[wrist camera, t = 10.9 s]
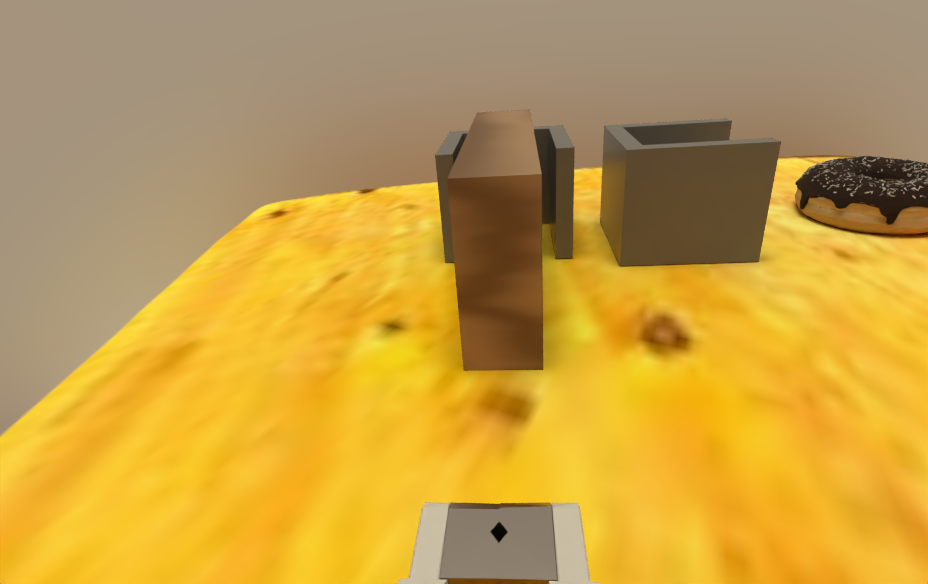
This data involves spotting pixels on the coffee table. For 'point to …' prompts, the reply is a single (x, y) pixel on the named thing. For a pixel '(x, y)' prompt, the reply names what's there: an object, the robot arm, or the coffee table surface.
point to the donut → (867, 194)
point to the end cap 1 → (555, 185)
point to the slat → (498, 243)
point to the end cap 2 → (685, 192)
